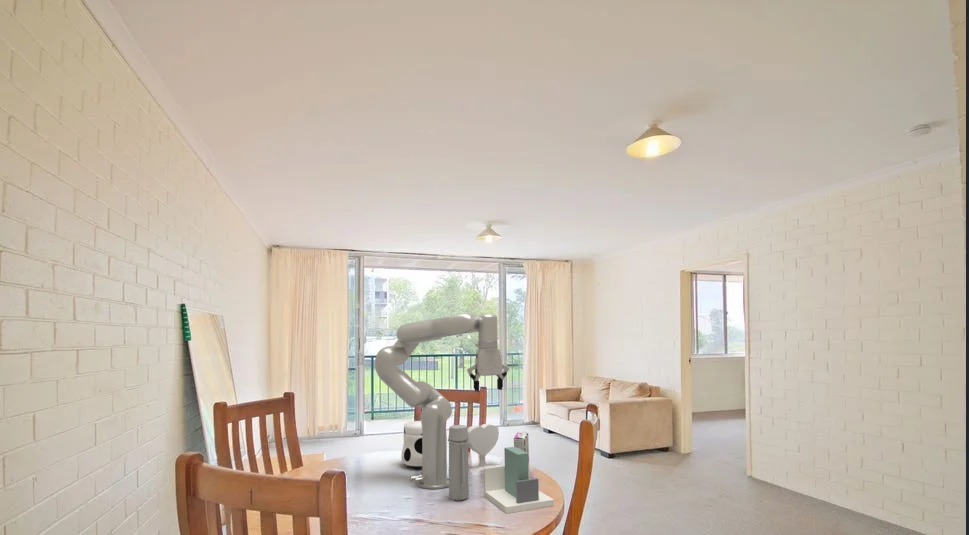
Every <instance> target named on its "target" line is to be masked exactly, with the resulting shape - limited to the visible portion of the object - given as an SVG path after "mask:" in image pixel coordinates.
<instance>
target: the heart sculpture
mask: <svg viewBox="0 0 969 535" xmlns="http://www.w3.org/2000/svg"><path fill="white" fill-rule="evenodd" d="M467 431H468V439H469V440H470V442H469V440H468V442H469V443H468V449H470V450H471V451H472V452H474V453H477V454H478V455H479V466H478V465H477V466H474V467H470V468H468V469H469V470H472V471H471V472H474V471H475V472H478V471H484V468H486V467H494V466H496V465H494V464H486V456H487V454H488V453H490V451H492V450H493V449H494V448H495V447H496V444H497V442H498V440H499V433H500V431H499V427H498V426H496V425H494V424H490V423H483V424H481V425H476V424H475V425H472V426H469V427H467ZM469 470H468V471H469Z"/></svg>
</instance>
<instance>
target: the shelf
mask: <svg viewBox="0 0 969 535" xmlns="http://www.w3.org/2000/svg"><path fill="white" fill-rule="evenodd" d="M528 469H529V470H530V462H529V463H528ZM539 487H540V486H539V478H538V477H535V478H531V477H529V479H526V480H519V481H516V498H515V497H514V496H512V495H511V494H509V493H508V492H506V491H505V464H504V465H495V466H494V467H486V468H484V470H483V497H484V498H485V497H486V500H488V501H489V500H490V501H489V502H491V503H492V504H493V505H495V506H496V507H497V508H498V509H500V511H502V510H503V512H504V514H506V513H507V514H512V512H513V513H518V512H524V511H530V509H531V510H536V508H537V509H541V508H542V509H543V508H549V507H555V500H554V499H553V498H552V497H550V496H548V495H547V494H545V493H544V492H542V491H540V489H539Z"/></svg>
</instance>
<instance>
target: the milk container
mask: <svg viewBox="0 0 969 535" xmlns="http://www.w3.org/2000/svg"><path fill="white" fill-rule="evenodd" d="M400 456H401V462H402V464H403V466H406V467H408V468H413V469H422V424H421V420H413V421H408V422H406V423H404V425H403V445H402V450H401V455H400Z"/></svg>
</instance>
